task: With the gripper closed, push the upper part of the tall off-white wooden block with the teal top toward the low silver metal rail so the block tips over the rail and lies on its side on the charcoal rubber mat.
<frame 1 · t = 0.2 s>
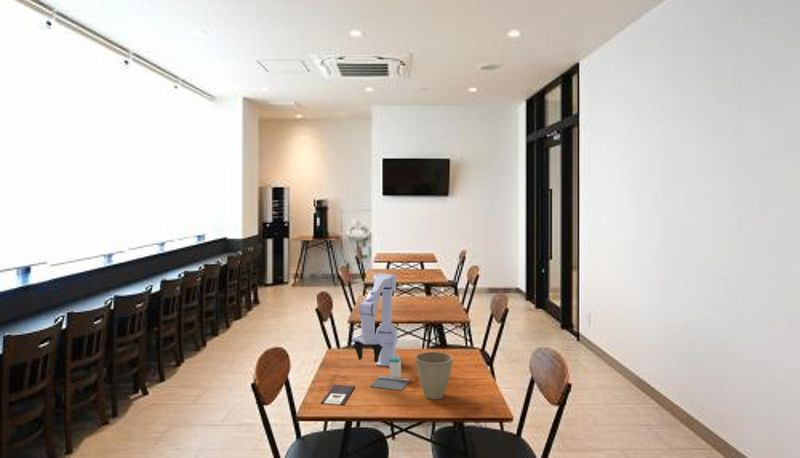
hand: (368, 360, 210), 10 cm above the table, tool pointing down, fingers open, 7 cm apart
tall block: (395, 378, 217), on the table
chocolate bar: (338, 396, 198), on the table
plant pot: (433, 396, 197), on the table
stop rail: (393, 380, 214), on the table
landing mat: (389, 384, 209), on the table
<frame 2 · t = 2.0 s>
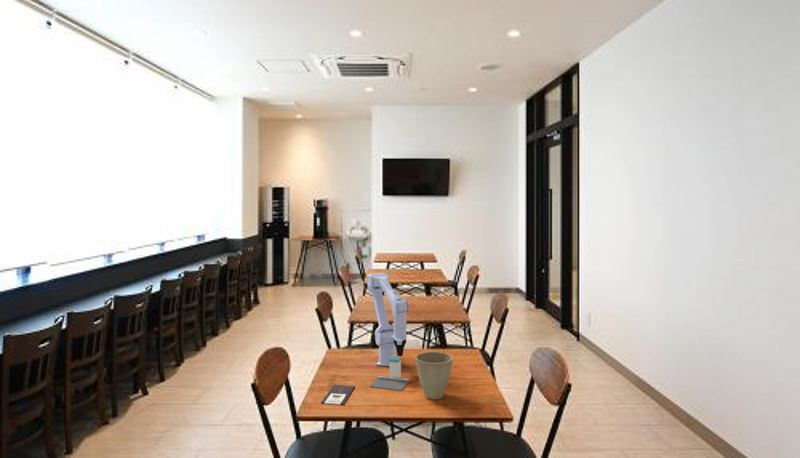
hand: (400, 355, 223), 8 cm above the table, tool pointing down, fingers closed
nothing on the table moved.
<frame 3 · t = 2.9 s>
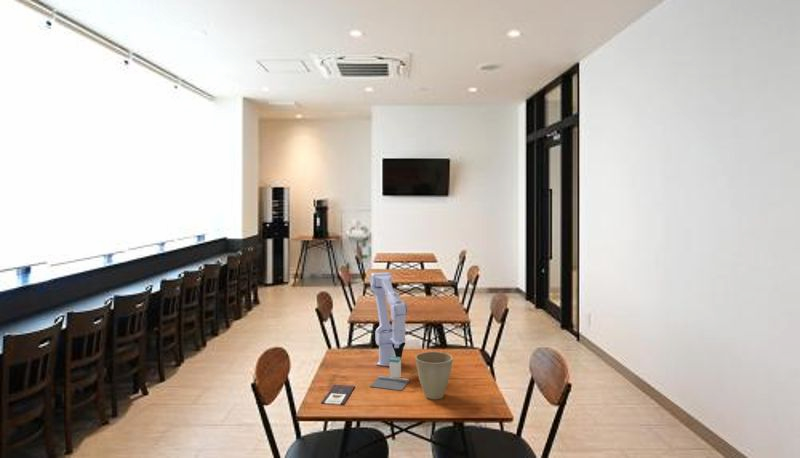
hand: (398, 359, 221), 7 cm above the table, tool pointing down, fingers closed
nothing on the table moved.
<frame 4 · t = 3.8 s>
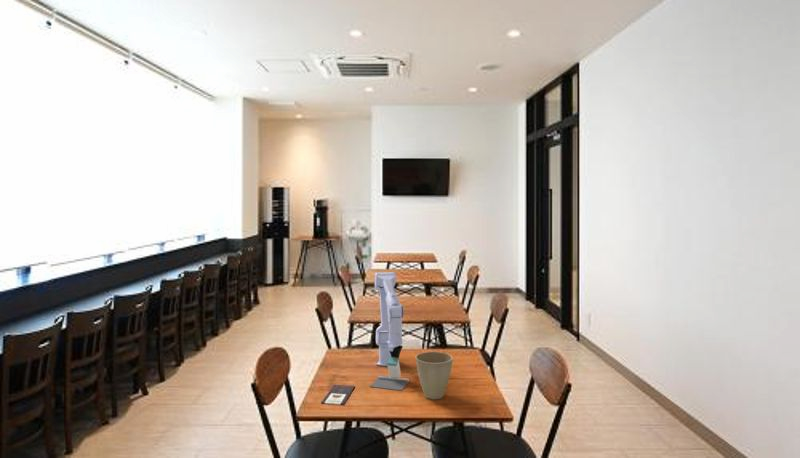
hand: (395, 362, 216), 7 cm above the table, tool pointing down, fingers closed
tall block: (395, 376, 217), point 1 cm above the table, tilted 23°, touching gripper, stop rail
everything else where it was.
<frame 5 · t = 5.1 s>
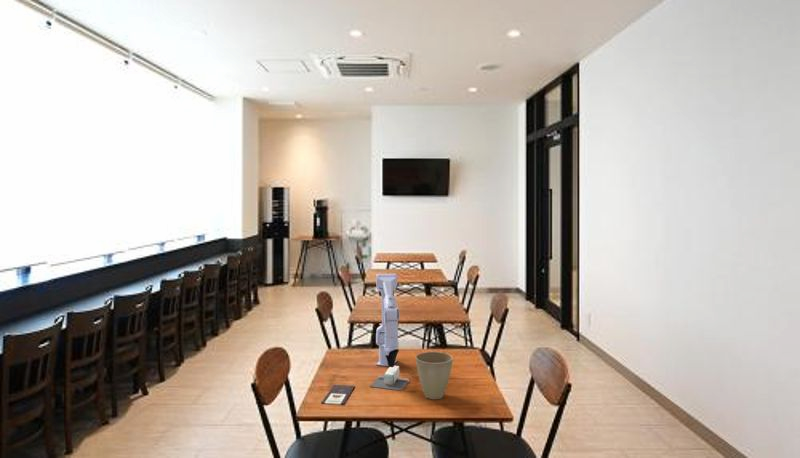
hand: (391, 366, 211), 7 cm above the table, tool pointing down, fingers closed
tall block: (394, 369, 216), point 4 cm above the table, tilted 100°, touching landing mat, stop rail
everything else where it was.
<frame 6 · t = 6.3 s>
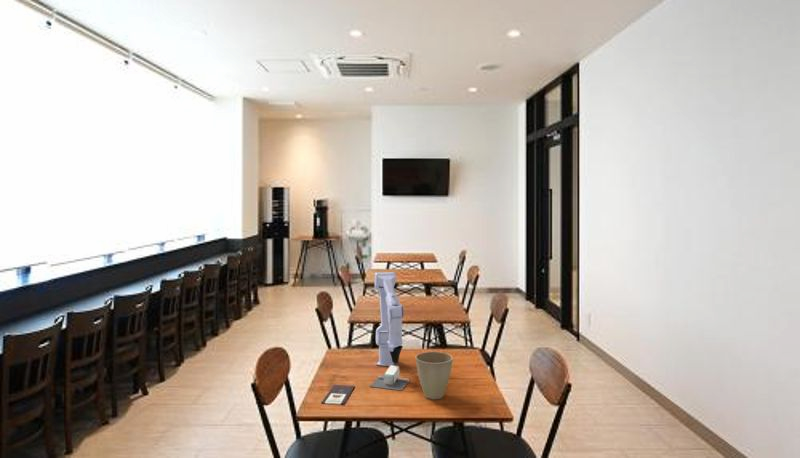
hand: (395, 362, 217), 7 cm above the table, tool pointing down, fingers closed
nothing on the table moved.
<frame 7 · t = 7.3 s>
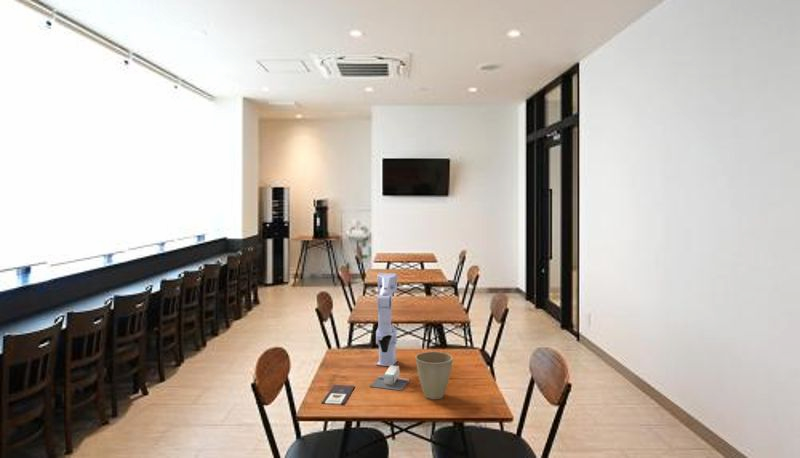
hand: (384, 351, 220), 10 cm above the table, tool pointing down, fingers closed
nothing on the table moved.
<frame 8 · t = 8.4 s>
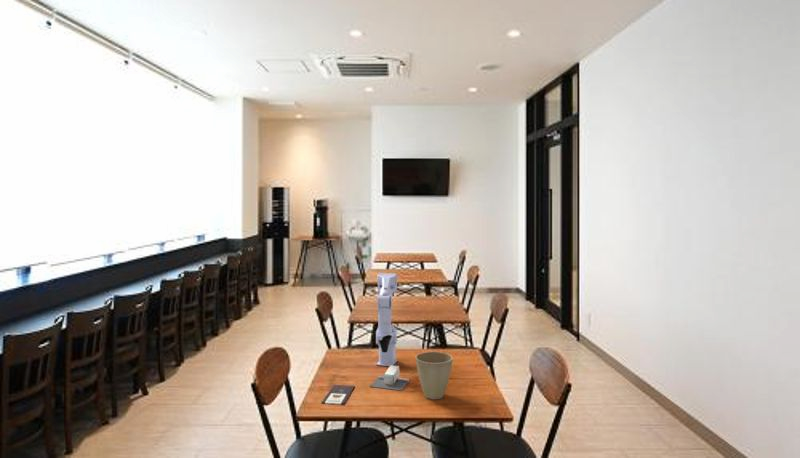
hand: (384, 351, 220), 10 cm above the table, tool pointing down, fingers closed
nothing on the table moved.
at the end: tall block tilted 100°; tall block inside the target area (4.1 cm from its centre), point 3.8 cm above the table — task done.
